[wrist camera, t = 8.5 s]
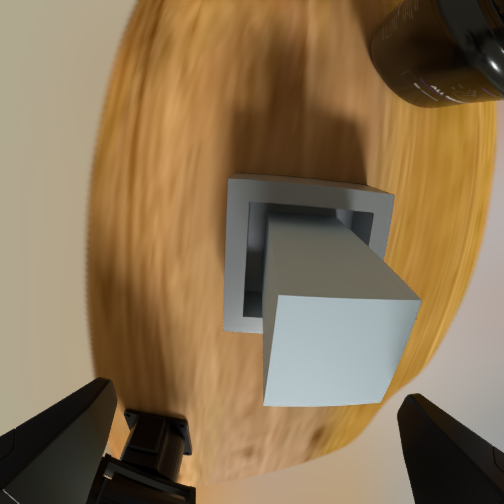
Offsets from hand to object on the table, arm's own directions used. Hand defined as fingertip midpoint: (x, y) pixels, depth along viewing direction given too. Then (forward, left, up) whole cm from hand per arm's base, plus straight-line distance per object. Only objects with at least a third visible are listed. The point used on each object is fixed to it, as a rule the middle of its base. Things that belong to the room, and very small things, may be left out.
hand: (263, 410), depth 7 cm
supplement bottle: (+14, -9, -12) cm, 21 cm away
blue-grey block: (+1, -2, -11) cm, 11 cm away
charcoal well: (+1, -2, -12) cm, 12 cm away
